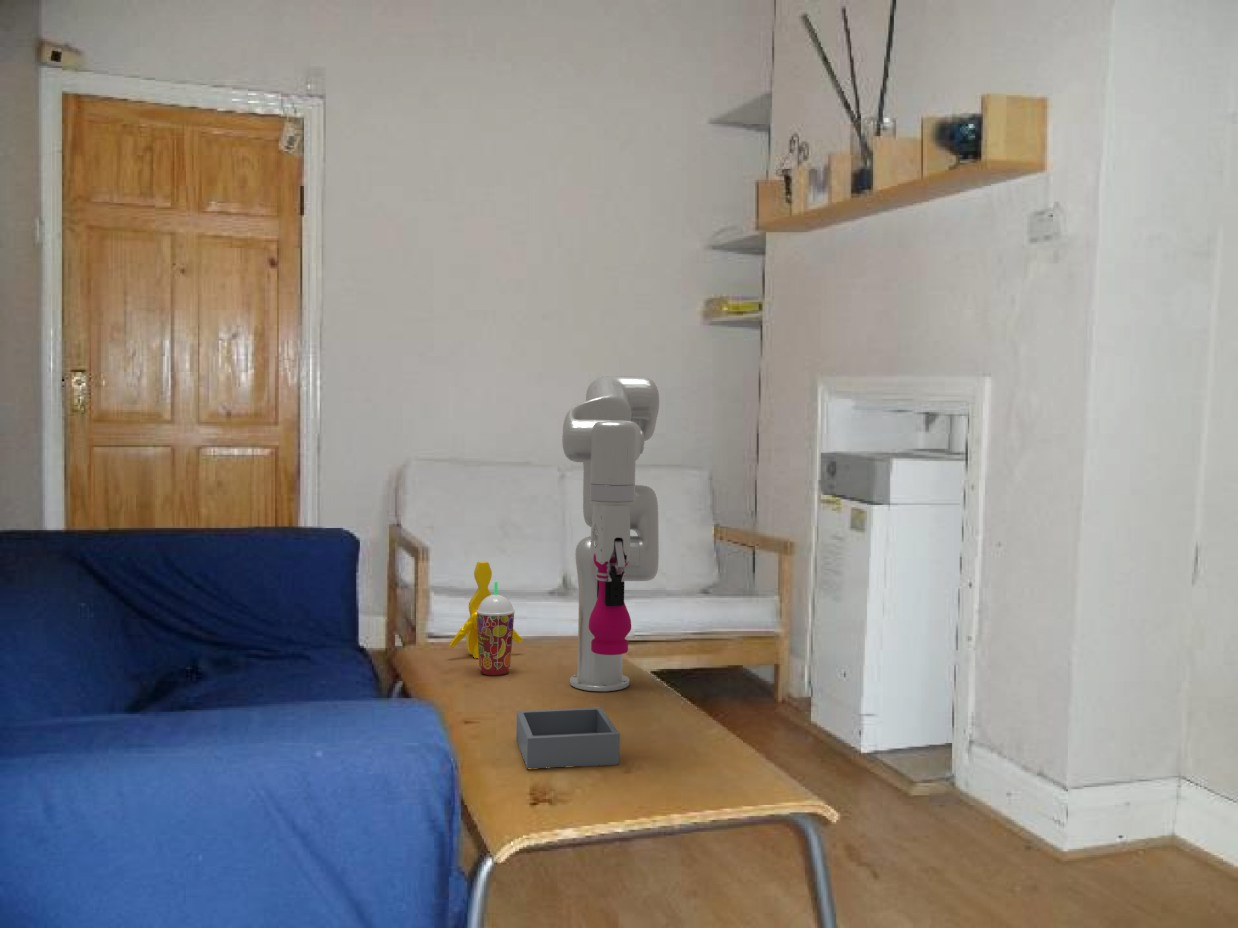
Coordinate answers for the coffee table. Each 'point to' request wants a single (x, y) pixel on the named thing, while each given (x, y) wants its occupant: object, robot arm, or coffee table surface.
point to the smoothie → (495, 633)
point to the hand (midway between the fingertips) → (610, 601)
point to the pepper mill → (608, 620)
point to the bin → (567, 738)
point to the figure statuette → (470, 627)
